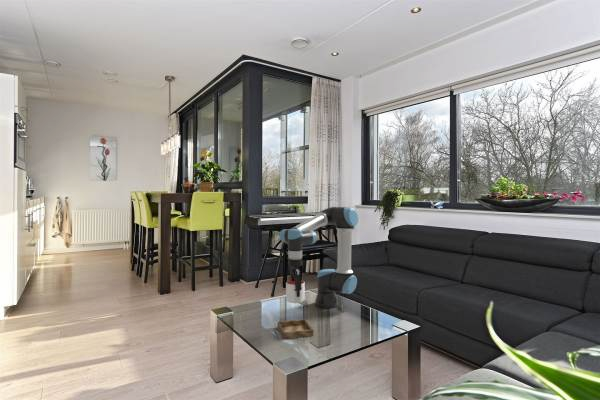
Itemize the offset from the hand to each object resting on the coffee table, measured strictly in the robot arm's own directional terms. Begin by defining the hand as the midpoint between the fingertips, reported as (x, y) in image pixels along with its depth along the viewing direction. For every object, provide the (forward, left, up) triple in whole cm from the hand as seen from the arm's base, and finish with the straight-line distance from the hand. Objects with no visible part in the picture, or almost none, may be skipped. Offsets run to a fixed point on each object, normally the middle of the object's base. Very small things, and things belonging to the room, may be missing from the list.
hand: (295, 299), depth 190 cm
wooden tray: (0, 0, -17) cm, 17 cm away
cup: (0, 0, -1) cm, 1 cm away
